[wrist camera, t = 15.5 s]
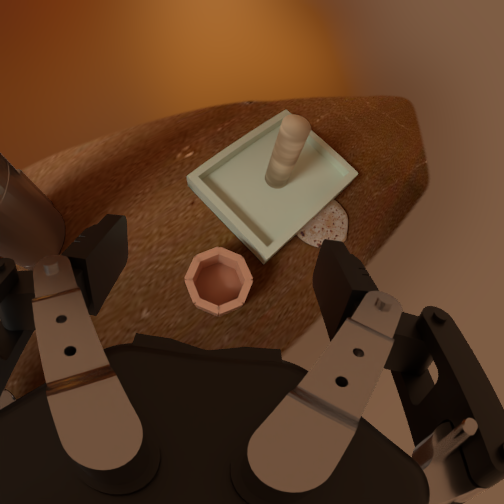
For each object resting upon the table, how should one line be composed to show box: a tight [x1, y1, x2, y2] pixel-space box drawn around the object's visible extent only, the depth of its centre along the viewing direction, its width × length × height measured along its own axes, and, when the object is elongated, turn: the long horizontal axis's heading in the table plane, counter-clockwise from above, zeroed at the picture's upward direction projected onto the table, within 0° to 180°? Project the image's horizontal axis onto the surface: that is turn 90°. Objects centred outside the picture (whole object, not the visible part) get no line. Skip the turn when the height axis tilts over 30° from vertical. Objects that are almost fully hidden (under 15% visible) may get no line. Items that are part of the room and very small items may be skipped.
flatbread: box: [296, 199, 348, 248], centre depth 38 cm, size 8×8×1 cm
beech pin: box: [265, 114, 311, 189], centre depth 33 cm, size 3×3×11 cm
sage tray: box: [187, 110, 359, 264], centre depth 38 cm, size 18×14×2 cm
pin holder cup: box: [184, 247, 253, 316], centre depth 33 cm, size 7×7×4 cm
